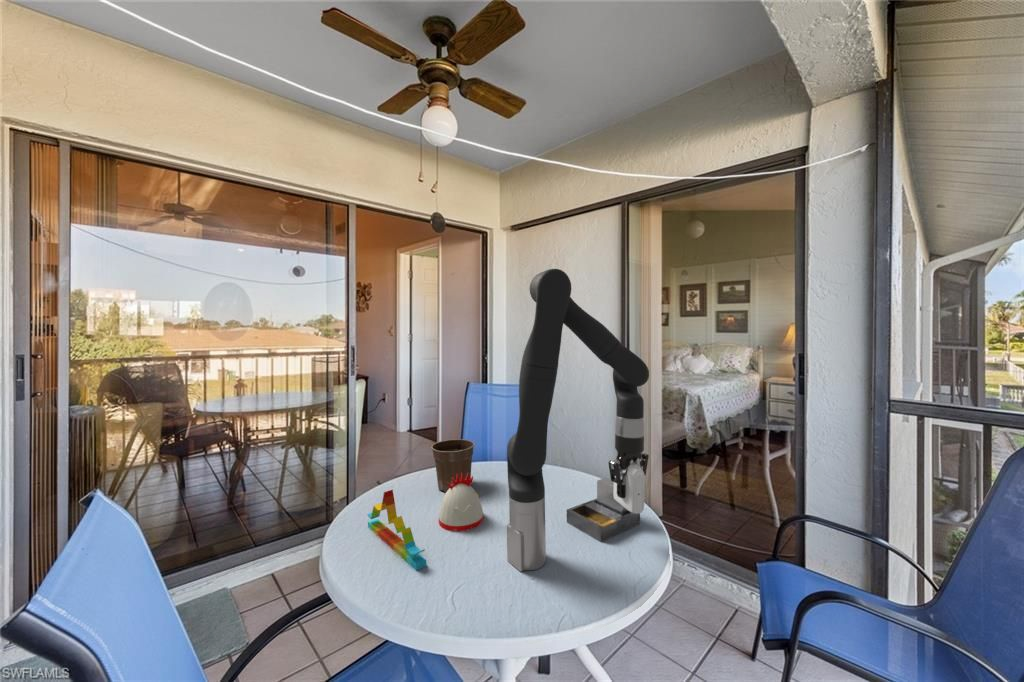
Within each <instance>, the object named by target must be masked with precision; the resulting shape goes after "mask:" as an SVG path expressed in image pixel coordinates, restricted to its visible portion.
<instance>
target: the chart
mask: <svg viewBox="0 0 1024 682" xmlns="http://www.w3.org/2000/svg"><path fill="white" fill-rule="evenodd" d="M384 510H386V515H387V520H388V525H392V524H393V525H394V529H395V532H396V533H395V532H394V531H393V530H391V529H390V528H389V527H388V526H387V525H385V524H384V523H383V522H382V521H381V520H379V519H378V518H380V515H381V511H384ZM367 516H368V518H369V520H368V521H367V527H368V528H369V529H370V531H372V532H373V533H374V534H375V535H376V536H377V537H379V538H380V540H382V541H383V542H384V543H385V544H386V545H387V546H388V547H390V548H391V550H393V551H394V552H395V553H396V554H397V555H398V556H399V557H400V558H401V559H403V560H404V561H405V562H406V563H407V564H408V565H410V567H412V569H414V570H415V571H418V570H420V569H422V568H425V567H427V559H426V558H425V557H424V556H423V555H421V553H422V552H425V550H426V549H425V548H424V549H420V548H419V547H418V546H417V545H416V543H415V539H414V534H413V533H412V532H413V531H412V528H411V526H409V527H406V525H405V521H404V519H403V517H402V515H400V516H398V514H397V509H396V501H395V497H394V489H391V490H388V491H387V490H386V491H384V492H383V497H382V502H380V503H378V504H374V505H373V508H372V511H371V512H369V513H367ZM400 533H401V536H402V538H401V537H400V536H398V534H400Z"/></svg>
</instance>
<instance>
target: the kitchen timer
mask: <svg viewBox="0 0 1024 682" xmlns="http://www.w3.org/2000/svg"><path fill="white" fill-rule="evenodd" d="M473 479H474V476H473V475H471V479H469V474H468V473H467V476H466V479H464V477H463V474H461V480H459V476H458V474H457V476H456V481H455V480H454V479H453V478H452V481H453V485H450V484H449V482H447V483H448V485H449V487H450V489H449V490H448V491H447V492H445V493H444V496H443V498H442V500H441V504H440V507H439V511H438V524H439V526H440V527H441V528H442V529H444V530H446V531H450V532H465V531H470V530H473V529H475V528H477V527H478V526H480V525H481V524H482V523H483V521H484V510H483V506H482V504H481V500H480V498H479V497H480V495H479V494H478V492H476V491H475V489H474V488H473V487H472V486H471V485H472V483H473V481H474V480H473Z"/></svg>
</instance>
